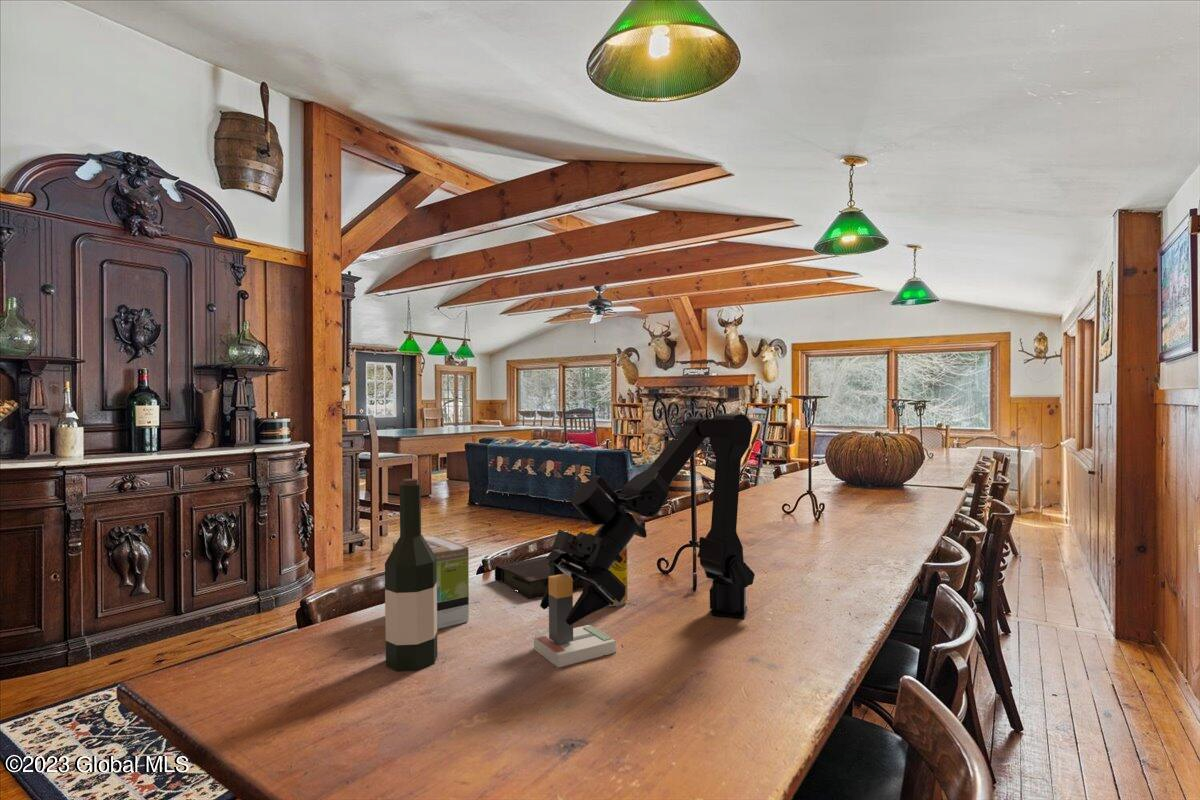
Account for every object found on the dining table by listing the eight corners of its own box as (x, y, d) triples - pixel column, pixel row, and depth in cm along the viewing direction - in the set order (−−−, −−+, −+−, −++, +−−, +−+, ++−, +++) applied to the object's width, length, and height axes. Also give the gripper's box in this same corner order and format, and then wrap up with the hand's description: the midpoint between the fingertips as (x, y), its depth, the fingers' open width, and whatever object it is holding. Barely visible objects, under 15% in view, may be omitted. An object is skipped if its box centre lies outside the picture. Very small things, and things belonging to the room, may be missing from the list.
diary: (494, 583, 152) (493, 562, 152) (582, 567, 166) (582, 547, 166) (531, 603, 137) (531, 579, 137) (625, 582, 151) (625, 561, 151)
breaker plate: (588, 635, 116) (588, 623, 116) (615, 652, 108) (615, 639, 108) (533, 648, 110) (533, 636, 110) (558, 667, 103) (558, 653, 103)
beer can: (625, 608, 131) (624, 535, 131) (596, 606, 132) (595, 534, 132) (629, 599, 137) (629, 528, 137) (601, 597, 138) (601, 528, 138)
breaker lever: (564, 634, 110) (564, 573, 110) (573, 640, 108) (572, 577, 108) (549, 638, 109) (548, 576, 108) (557, 644, 106) (556, 580, 106)
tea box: (471, 622, 124) (470, 545, 124) (421, 634, 118) (420, 554, 118) (437, 603, 136) (437, 533, 136) (391, 613, 129) (390, 540, 129)
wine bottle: (390, 675, 100) (388, 484, 100) (381, 656, 108) (379, 478, 107) (443, 665, 104) (441, 480, 104) (431, 647, 111) (429, 475, 111)
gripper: (555, 504, 118) (500, 573, 112) (610, 521, 102) (548, 602, 96) (592, 542, 122) (541, 610, 117) (650, 563, 106) (594, 643, 101)
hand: (554, 615), depth 107 cm, fingers open, 9 cm apart
